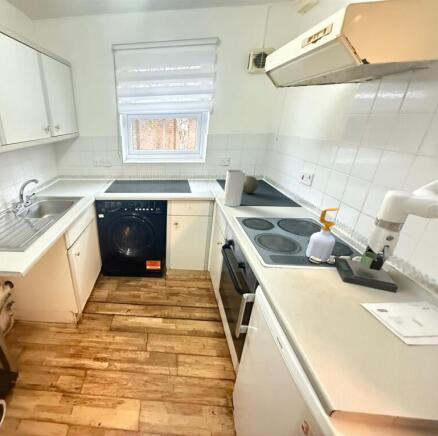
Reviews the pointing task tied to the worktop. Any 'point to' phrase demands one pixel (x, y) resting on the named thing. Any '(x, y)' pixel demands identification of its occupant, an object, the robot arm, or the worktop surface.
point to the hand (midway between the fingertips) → (370, 264)
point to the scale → (364, 275)
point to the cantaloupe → (250, 184)
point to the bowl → (368, 259)
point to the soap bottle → (322, 240)
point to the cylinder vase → (233, 187)
